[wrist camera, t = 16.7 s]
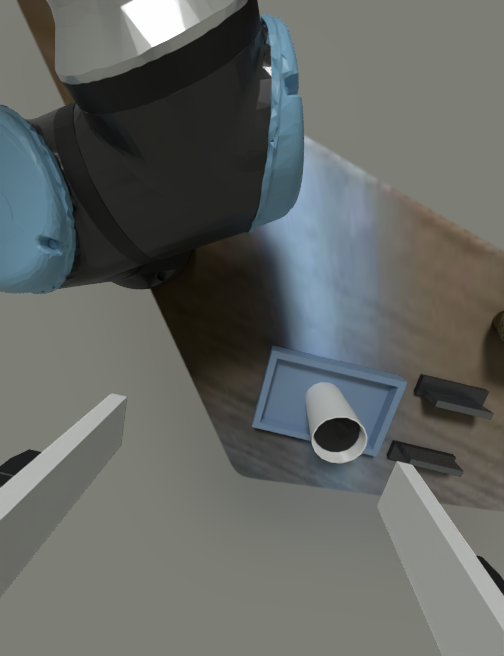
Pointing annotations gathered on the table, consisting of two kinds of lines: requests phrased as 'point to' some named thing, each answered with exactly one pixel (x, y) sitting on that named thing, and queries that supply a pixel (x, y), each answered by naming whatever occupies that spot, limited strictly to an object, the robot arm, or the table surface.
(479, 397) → the bracket
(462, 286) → the table surface
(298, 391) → the tray
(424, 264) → the table surface
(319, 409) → the white tumbler
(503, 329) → the cup
